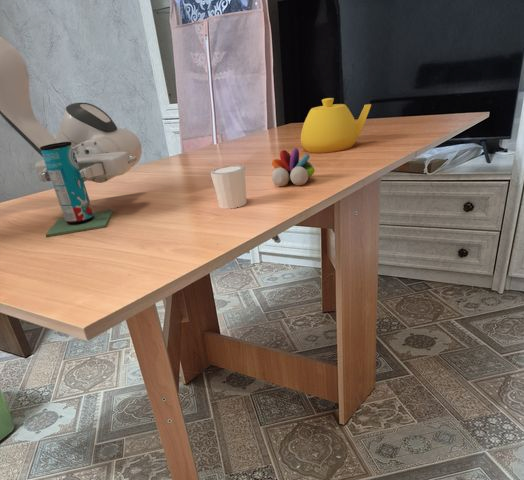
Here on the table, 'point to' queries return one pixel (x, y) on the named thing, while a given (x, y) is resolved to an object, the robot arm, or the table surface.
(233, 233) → the table surface
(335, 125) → the teapot
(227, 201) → the white cup
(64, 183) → the beverage can
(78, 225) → the mat
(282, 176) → the rainbow petal toy
